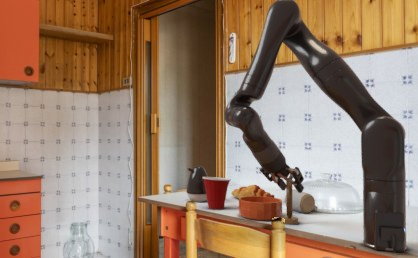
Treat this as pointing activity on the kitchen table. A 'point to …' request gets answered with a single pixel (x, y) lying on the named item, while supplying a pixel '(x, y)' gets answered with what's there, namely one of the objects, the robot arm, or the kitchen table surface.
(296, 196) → the ceramic mug
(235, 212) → the kitchen table surface
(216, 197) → the plastic cup
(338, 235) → the kitchen table surface
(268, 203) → the bowl
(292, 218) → the wooden peg stand
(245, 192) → the croissant
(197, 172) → the pump dispenser
